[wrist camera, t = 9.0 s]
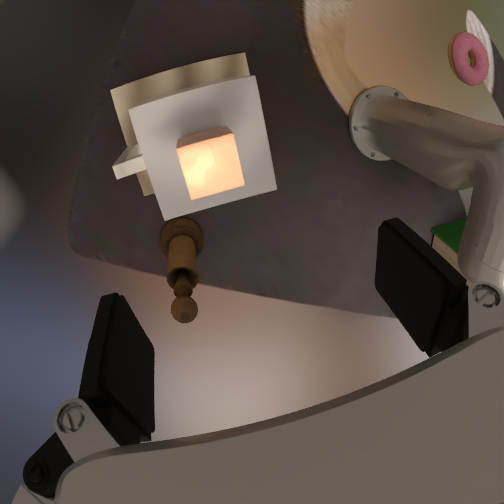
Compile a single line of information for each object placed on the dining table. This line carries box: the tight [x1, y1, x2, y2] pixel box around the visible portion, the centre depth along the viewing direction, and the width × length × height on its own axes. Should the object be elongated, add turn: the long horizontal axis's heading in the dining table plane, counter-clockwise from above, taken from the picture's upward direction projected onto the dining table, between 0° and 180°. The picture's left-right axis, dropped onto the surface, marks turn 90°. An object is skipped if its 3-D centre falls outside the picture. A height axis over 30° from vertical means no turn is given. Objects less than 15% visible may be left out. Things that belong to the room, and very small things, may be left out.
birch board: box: [110, 53, 250, 196], centre depth 38 cm, size 18×16×1 cm
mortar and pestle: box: [161, 218, 203, 323], centre depth 40 cm, size 7×6×18 cm
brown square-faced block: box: [176, 126, 245, 200], centre depth 29 cm, size 8×8×19 cm
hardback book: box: [431, 218, 471, 287], centre depth 50 cm, size 18×7×24 cm, turn 97°
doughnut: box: [448, 32, 489, 86], centre depth 36 cm, size 11×11×4 cm
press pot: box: [112, 76, 277, 221], centre depth 32 cm, size 15×11×15 cm
